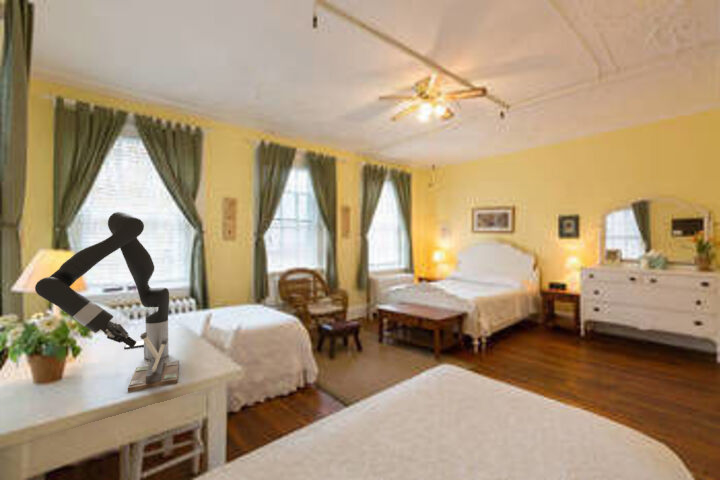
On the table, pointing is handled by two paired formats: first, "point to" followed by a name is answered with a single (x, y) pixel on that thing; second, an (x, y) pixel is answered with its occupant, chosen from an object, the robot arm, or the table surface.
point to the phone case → (138, 344)
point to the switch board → (154, 375)
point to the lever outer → (159, 354)
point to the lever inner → (149, 344)
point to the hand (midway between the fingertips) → (134, 344)
